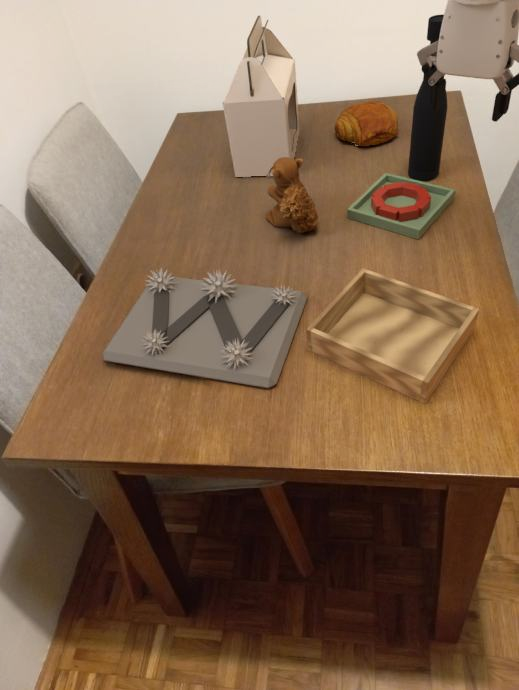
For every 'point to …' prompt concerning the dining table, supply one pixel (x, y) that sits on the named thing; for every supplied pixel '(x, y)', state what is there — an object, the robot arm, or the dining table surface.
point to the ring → (402, 212)
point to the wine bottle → (427, 122)
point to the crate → (393, 332)
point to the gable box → (262, 105)
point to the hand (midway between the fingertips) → (466, 113)
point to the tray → (411, 228)
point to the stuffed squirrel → (290, 198)
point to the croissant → (367, 123)
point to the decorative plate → (209, 329)
